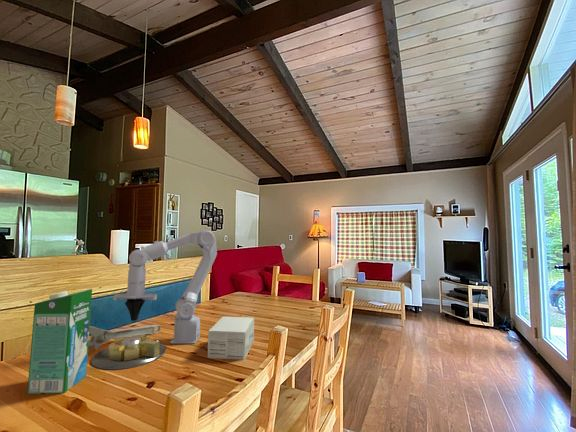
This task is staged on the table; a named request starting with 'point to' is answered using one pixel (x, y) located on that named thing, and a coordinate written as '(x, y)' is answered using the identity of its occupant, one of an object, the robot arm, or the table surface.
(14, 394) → the table surface
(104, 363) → the cap base
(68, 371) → the milk carton
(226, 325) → the supplement box
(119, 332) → the wrench
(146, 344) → the golden segmented ring
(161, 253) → the robot arm
